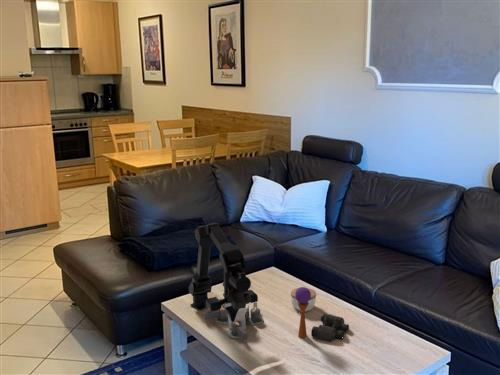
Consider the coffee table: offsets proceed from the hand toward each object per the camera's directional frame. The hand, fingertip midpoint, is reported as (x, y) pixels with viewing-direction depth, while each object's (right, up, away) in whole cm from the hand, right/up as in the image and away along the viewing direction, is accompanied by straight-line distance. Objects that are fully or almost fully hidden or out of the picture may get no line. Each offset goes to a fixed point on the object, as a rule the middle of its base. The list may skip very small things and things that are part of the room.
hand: (232, 321), depth 182 cm
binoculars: (+38, -7, +10) cm, 40 cm away
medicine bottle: (+2, -6, +15) cm, 17 cm away
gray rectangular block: (+3, -7, +6) cm, 9 cm away
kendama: (+27, -8, +7) cm, 29 cm away
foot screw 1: (-7, -4, +19) cm, 21 cm away
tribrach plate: (+2, -6, +17) cm, 18 cm away
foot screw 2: (+9, -4, +22) cm, 23 cm away
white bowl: (+29, -3, +29) cm, 41 cm away
